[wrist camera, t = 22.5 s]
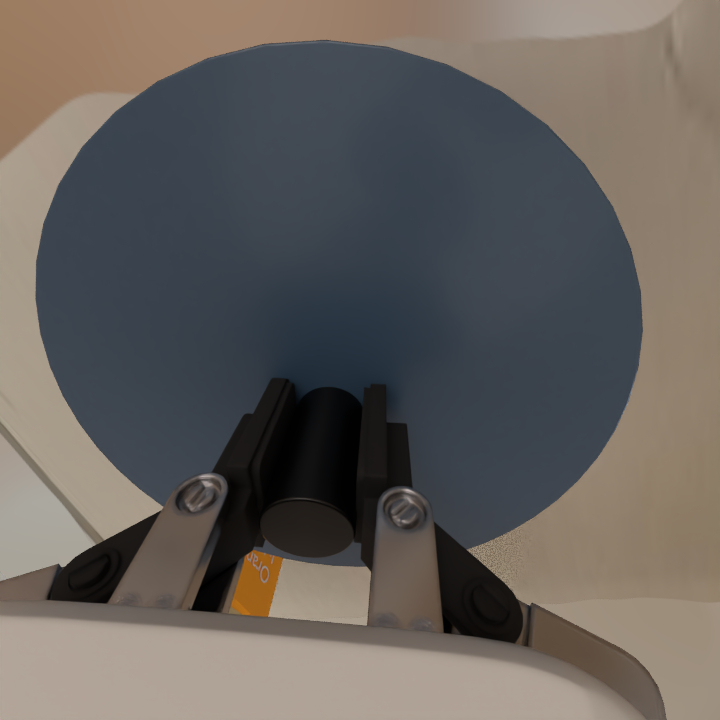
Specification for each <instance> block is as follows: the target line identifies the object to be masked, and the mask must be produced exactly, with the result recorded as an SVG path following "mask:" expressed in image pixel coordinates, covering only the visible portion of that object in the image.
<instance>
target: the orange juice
mask: <svg viewBox="0 0 720 720" xmlns="http://www.w3.org/2000/svg"><path fill="white" fill-rule="evenodd" d="M282 560H283V558H281V557H277V556H274V555H270V554H266V553H262V552H258V551H255V550H253V551H251V552H250V553H249V554H247V555H246V556H245V558H244V564H243V567H242V570H241V574H240V577H239V580H238V584H237V587H236V590H235V594H234V597H233V600H232V604H231V607H230V610H229V614H239V615H251V616H262V617H268V615H269V611H270V607H271V603H272V599H273V595H274V591H275V587H276V583H277V580H278V576H279V572H280V568H281V564H282Z"/></svg>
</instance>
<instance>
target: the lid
mask: <svg viewBox="0 0 720 720" xmlns="http://www.w3.org/2000/svg"><path fill="white" fill-rule="evenodd" d="M36 305H37V312H38V320H39V327H40V334H41V337H42V341H43V344H44V348H45V351H46V354H47V358H48V361H49V365H50V367H51V370H52V372H53V374H54V377H55V379H56V381H57V383H58V386H59V388H60V390H61V392H62V395H63V397H64V398H65V400H66V402H67V404H68V405H69V407H70V409H71V410H72V412H73V414H74V415H75V417H76V419H77V420H78V422H79V424H80V425H81V426H82V428H83V429H84V430H85V432H86V433H87V434H88V436H89V437H90V438H91V440H92V441H93V442H94V444H95V445H96V446H97V448H98V449H99V450H100V451H101V452H102V453H103V454H104V455H105V456H106V457H107V458H108V459H109V461H110V462H111V463H112V464H113V465H114V466H115V467H116V468H117V469H118V470H119V471H120V472H121V473H122V474H123V475H124V476H126V477H127V478H128V479H129V480H130V481H131V482H132V483H133V484H135V485H136V486H137V487H138V488H139V489H140V490H142V491H143V492H144V493H146V494H147V495H148V496H150V497H151V498H152V499H154V500H155V501H156V502H158V503H159V504H160V505H162V506H163V507H164V505H165V504H166V502H167V500H168V499H169V497H170V495H171V493H172V492H173V491H174V489H175V488H176V487H177V486H178V485H179V484H180V483H181V482H183V481H184V480H186V479H187V478H189V477H191V476H193V475H197V474H200V473H207V472H212V470H213V469H214V467H215V465H216V463H217V461H218V460H219V458H220V456H221V454H222V452H223V451H224V449H225V447H226V445H227V443H228V442H229V440H230V438H231V436H232V434H233V433H234V431H235V429H236V427H237V425H238V424H239V422H240V420H241V418H242V417H243V415H244V414H246V413H250V414H253V413H254V411H255V409H256V407H257V405H258V403H259V401H260V399H261V397H262V395H263V393H264V392H265V390H266V388H267V386H268V384H269V382H270V380H271V379H272V378H286V379H289V382H290V383H294V385H295V395H296V408H297V410H296V413H295V416H294V419H293V422H292V424H291V427H290V430H289V433H288V436H287V439H286V442H285V444H284V447H283V450H282V453H281V456H280V459H279V462H278V464H277V467H276V470H275V473H274V476H273V479H272V482H271V484H270V487H269V490H268V493H267V496H266V499H265V502H264V504H263V507H262V510H261V513H260V516H259V521H258V522H259V529H260V532H261V534H262V535H263V537H264V538H265V539H266V540H265V543H264V546H263V547H254V548H253V550H255V551H258V552H262V553H266V554H270V555H274V556H277V557H281V558H286V559H291V560H296V561H302V562H307V563H315V564H324V565H333V566H354V567H365V566H366V565H365V564H364V563H363V561H362V560H361V559H360V558H361V543H354V538H355V533H356V520H357V511H356V482H357V466H358V454H359V443H360V431H361V420H362V408H363V396H364V387H367V388H370V386H371V384H386V419H387V422H392V423H406V424H407V430H408V441H409V452H410V463H411V474H412V485H413V488H414V489H416V490H418V491H420V492H421V493H422V494H423V495H424V496H425V497H427V499H428V501H429V502H430V504H431V506H432V510H433V518H434V522H435V523H436V524H438V525H439V526H440V527H441V528H442V529H443V530H444V531H446V532H447V533H448V534H449V535H450V536H451V537H452V538H454V539H455V540H456V541H457V542H458V543H459V544H460V545H461V546H463V547H464V548H465V549H466V550H467V549H470V548H472V547H475V546H478V545H481V544H483V543H486V542H488V541H490V540H492V539H495V538H497V537H499V536H501V535H503V534H505V533H507V532H509V531H511V530H513V529H515V528H516V527H518V526H520V525H521V524H523V523H525V522H527V521H528V520H530V519H532V518H533V517H535V516H536V515H538V514H539V513H540V512H542V511H543V510H544V509H546V508H547V507H548V506H550V505H551V504H552V503H554V502H555V501H556V500H558V499H559V498H560V497H561V496H562V495H563V494H564V493H565V492H566V491H567V490H568V489H570V488H571V487H572V486H573V485H574V484H575V483H576V482H577V481H578V480H579V479H580V478H581V477H582V475H583V474H584V473H585V472H586V471H587V470H588V468H589V467H590V466H591V465H592V464H593V462H594V461H595V460H596V459H597V458H598V456H599V455H600V453H601V452H602V450H603V449H604V447H605V445H606V444H607V442H608V441H609V439H610V438H611V436H612V435H613V433H614V431H615V430H616V427H617V425H618V423H619V421H620V419H621V417H622V414H623V412H624V410H625V408H626V406H627V404H628V401H629V398H630V395H631V391H632V388H633V384H634V381H635V377H636V374H637V370H638V366H639V358H640V349H641V341H642V332H643V327H642V307H641V290H640V286H639V282H638V277H637V273H636V269H635V264H634V260H633V256H632V251H631V248H630V246H629V244H628V241H627V239H626V237H625V234H624V232H623V230H622V227H621V225H620V223H619V220H618V218H617V216H616V213H615V211H614V209H613V206H612V205H611V203H610V202H609V200H608V199H607V197H606V196H605V194H604V193H603V191H602V190H601V188H600V187H599V185H598V184H597V182H596V181H595V179H594V178H593V176H592V174H591V173H590V171H589V170H588V168H587V167H586V165H585V164H584V163H583V162H582V161H581V160H580V159H579V158H578V157H577V156H576V155H575V154H574V153H573V151H572V150H571V149H570V148H569V147H568V146H567V145H566V144H565V143H564V142H563V141H562V140H561V139H560V138H559V137H558V136H557V135H556V134H555V133H554V132H553V131H552V129H551V128H550V127H549V126H548V125H546V124H545V123H544V122H542V121H541V120H540V119H538V118H537V117H536V116H534V115H533V114H531V113H530V112H529V111H527V110H526V109H525V108H523V107H522V106H521V105H519V104H518V103H516V102H515V101H514V100H512V99H511V98H510V97H508V96H507V95H506V94H504V93H503V92H501V91H500V90H498V89H496V88H494V87H492V86H490V85H488V84H486V83H484V82H481V81H479V80H477V79H475V78H473V77H471V76H469V75H467V74H465V73H463V72H461V71H459V70H457V69H455V68H453V67H451V66H449V65H447V64H444V63H440V62H437V61H434V60H430V59H427V58H423V57H420V56H417V55H413V54H410V53H406V52H403V51H400V50H396V49H393V48H389V47H384V46H375V45H366V44H357V43H348V42H339V41H330V40H317V41H302V42H286V43H271V44H262V45H258V46H254V47H250V48H247V49H242V50H238V51H235V52H230V53H226V54H223V55H219V56H215V57H210V58H207V59H205V60H203V61H201V62H198V63H196V64H194V65H192V66H190V67H188V68H185V69H183V70H181V71H179V72H177V73H175V74H172V75H170V76H168V77H166V78H164V79H162V80H159V81H157V82H156V83H155V84H153V85H152V86H150V87H149V88H148V89H146V90H145V91H143V92H142V93H141V94H139V95H138V96H136V97H135V98H134V99H132V100H131V101H130V102H128V103H127V104H125V105H124V106H123V107H121V108H120V109H118V110H117V111H116V112H115V113H114V114H113V115H112V116H111V117H110V118H109V119H108V120H107V121H106V122H105V123H104V124H103V125H102V126H101V128H100V129H99V130H98V131H97V132H96V133H95V134H94V135H93V136H92V137H91V138H90V139H89V140H88V141H87V142H86V143H85V145H84V146H83V147H82V148H81V150H80V151H79V153H78V155H77V156H76V158H75V159H74V161H73V163H72V164H71V166H70V167H69V169H68V170H67V172H66V174H65V175H64V177H63V178H62V180H61V182H60V183H59V185H58V188H57V190H56V193H55V195H54V198H53V200H52V203H51V206H50V208H49V211H48V213H47V216H46V218H45V221H44V224H43V229H42V234H41V240H40V245H39V250H38V255H37V261H36Z"/></svg>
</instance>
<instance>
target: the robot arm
mask: <svg viewBox="0 0 720 720" xmlns="http://www.w3.org/2000/svg"><path fill="white" fill-rule="evenodd" d="M296 410H297V408H296V395H295V385H294V383H290V382H289V379H286V378H272V379H271V380H270V382H269V384H268V386H267V388H266V390H265V392H264V393H263V395H262V397H261V399H260V401H259V403H258V405H257V407H256V409H255V411H254V413H253V414H250V413H246V414H244V415H243V417H242V418H241V420H240V422H239V424H238V425H237V427H236V429H235V431H234V433H233V434H232V436H231V438H230V440H229V442H228V443H227V445H226V447H225V449H224V451H223V452H222V454H221V456H220V458H219V460H218V461H217V463H216V465H215V467H214V469H213V470H212V472H207V473H200V474H197V475H193V476H191V477H189V478H187V479H186V480H184V481H183V482H181V483H180V484H179V485H178V486H177V487H176V488H175V489H174V491H173V492H172V493H171V495H170V497H169V499H168V500H167V502H166V504H165V505H164V507H163V509H162V510H161V511H159V512H157V513H156V514H154V515H152V516H150V517H148V518H146V519H144V520H142V521H140V522H139V523H137V524H135V525H133V526H131V527H129V528H127V529H125V530H123V531H122V532H120V533H118V534H116V535H114V536H112V537H110V538H108V539H106V540H105V541H103V542H101V543H99V544H97V545H95V546H93V547H92V548H89V549H88V550H86V551H84V552H83V553H81V554H80V555H78V556H77V557H75V558H74V559H73V560H72V561H71V562H70V563H69V564H67V565H66V566H65V567H61V566H60V565H59V564H56V565H53V566H50V567H46V568H43V569H40V570H36V571H33V572H30V573H26V574H23V575H20V576H17V577H13V578H10V579H6V580H3V581H0V720H667V719H666V714H665V708H664V703H663V700H662V697H661V694H660V691H659V688H658V686H657V684H656V683H655V681H654V679H653V678H652V676H651V675H650V673H649V672H648V670H647V669H646V668H645V667H644V666H643V665H642V664H641V663H640V662H639V661H638V660H637V659H636V658H635V657H633V656H632V655H630V654H629V653H628V652H626V651H625V650H623V649H621V648H620V647H617V646H616V645H614V644H612V643H610V642H608V641H606V640H604V639H602V638H600V637H598V636H596V635H594V634H592V633H590V632H588V631H587V630H585V629H583V628H581V627H579V626H577V625H575V624H573V623H571V622H569V621H567V620H565V619H563V618H561V617H559V616H557V615H555V614H553V613H551V612H550V611H548V610H546V609H544V608H542V607H540V606H538V605H536V604H534V603H531V605H530V606H529V605H527V604H525V603H523V602H521V601H519V600H517V598H516V597H515V595H514V593H513V592H512V591H511V590H510V589H509V587H508V586H507V585H506V584H505V583H504V582H503V581H501V580H500V579H499V578H498V577H497V576H496V575H495V574H493V573H492V572H491V571H490V570H489V569H488V568H487V567H485V566H484V565H483V564H482V563H481V562H480V561H479V560H477V559H476V558H475V557H474V556H473V555H472V554H471V553H469V552H468V551H467V550H466V549H465V548H464V547H463V546H461V545H460V544H459V543H458V542H457V541H456V540H455V539H454V538H452V537H451V536H450V535H449V534H448V533H447V532H446V531H444V530H443V529H442V528H441V527H440V526H439V525H438V524H436V523H435V522H434V518H433V510H432V506H431V504H430V502H429V501H428V499H427V497H425V496H424V495H423V494H422V493H421V492H420V491H418V490H416V489H414V488H413V485H412V474H411V463H410V452H409V441H408V430H407V424H406V423H392V422H387V419H386V384H371V386H370V388H367V387H364V396H363V408H362V420H361V431H360V443H359V454H358V466H357V482H356V511H357V520H356V533H355V538H354V543H361V558H360V559H361V560H362V561H363V563H364V564H365V565H366V566H367V567H368V568H369V570H370V571H371V581H370V595H369V608H368V621H367V626H363V625H353V624H342V623H331V622H320V621H308V620H296V619H285V618H274V617H262V616H251V615H239V614H229V610H230V607H231V604H232V600H233V597H234V594H235V590H236V587H237V584H238V580H239V577H240V574H241V570H242V567H243V564H244V558H245V556H246V555H247V554H249V553H250V552H251V551H253V548H254V547H263V546H264V543H265V540H266V539H265V538H264V537H263V535H262V534H261V532H260V529H259V522H258V521H259V516H260V513H261V510H262V507H263V504H264V502H265V499H266V496H267V493H268V490H269V487H270V484H271V482H272V479H273V476H274V473H275V470H276V467H277V464H278V462H279V459H280V456H281V453H282V450H283V447H284V444H285V442H286V439H287V436H288V433H289V430H290V427H291V424H292V422H293V419H294V416H295V413H296Z"/></svg>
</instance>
